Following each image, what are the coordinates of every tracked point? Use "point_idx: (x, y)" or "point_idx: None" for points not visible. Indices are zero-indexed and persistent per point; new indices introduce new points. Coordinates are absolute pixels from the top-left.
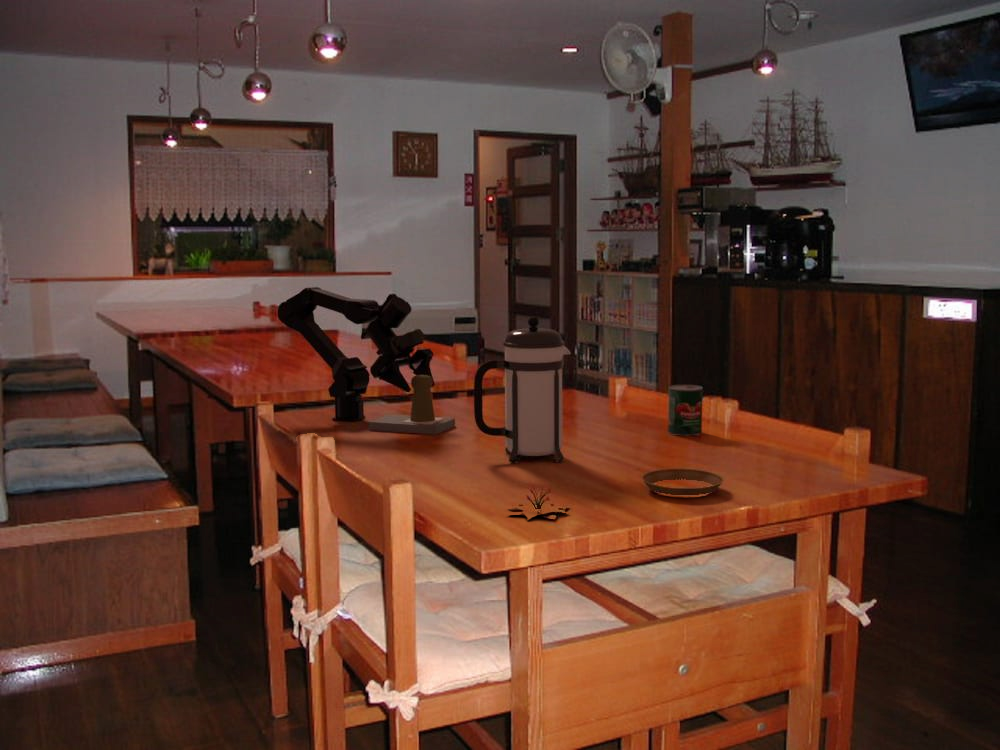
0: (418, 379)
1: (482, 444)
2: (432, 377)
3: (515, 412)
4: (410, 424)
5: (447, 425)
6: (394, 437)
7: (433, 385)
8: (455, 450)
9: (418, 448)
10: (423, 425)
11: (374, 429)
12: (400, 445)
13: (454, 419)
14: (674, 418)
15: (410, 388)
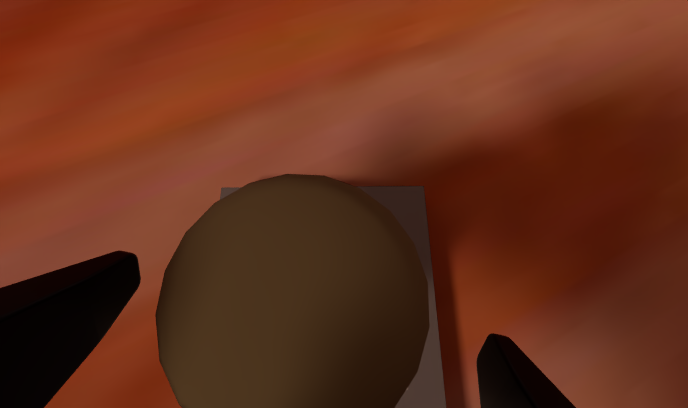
0: (423, 281)
1: (483, 15)
2: (21, 283)
3: None
4: (432, 318)
5: None
6: (538, 338)
7: (136, 260)
8: (595, 50)
9: (642, 156)
10: (428, 246)
11: None
12: (645, 237)
13: (228, 189)
14: None
15: (497, 340)
